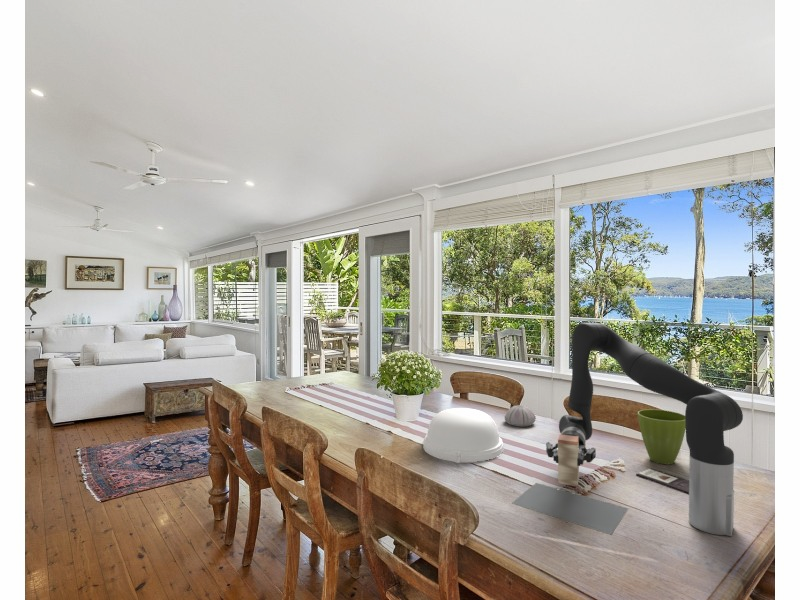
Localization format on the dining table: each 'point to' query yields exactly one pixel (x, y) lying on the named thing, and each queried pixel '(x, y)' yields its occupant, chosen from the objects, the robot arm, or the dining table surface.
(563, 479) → the birch block
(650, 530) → the dining table surface
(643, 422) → the flower pot
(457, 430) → the dome cover
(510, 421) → the sea urchin shell
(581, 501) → the rubber mat
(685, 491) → the chocolate bar
